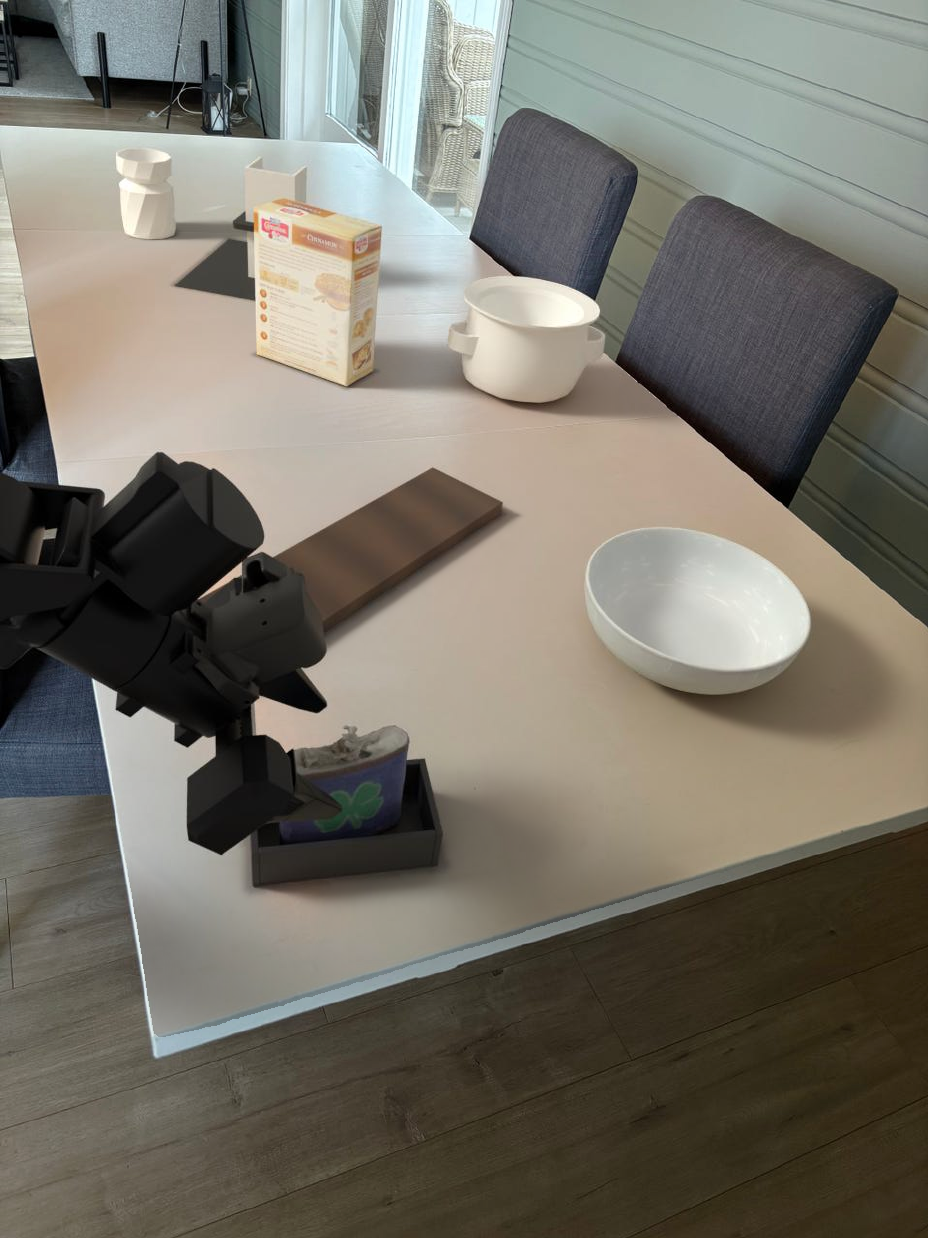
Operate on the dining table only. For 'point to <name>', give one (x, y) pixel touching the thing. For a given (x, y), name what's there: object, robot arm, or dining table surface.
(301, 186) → the black and white stand
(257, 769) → the robot arm
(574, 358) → the pot
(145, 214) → the vase
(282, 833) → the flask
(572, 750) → the dining table surface
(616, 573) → the serving bowl
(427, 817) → the open box
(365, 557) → the board
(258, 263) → the coffeecake box
